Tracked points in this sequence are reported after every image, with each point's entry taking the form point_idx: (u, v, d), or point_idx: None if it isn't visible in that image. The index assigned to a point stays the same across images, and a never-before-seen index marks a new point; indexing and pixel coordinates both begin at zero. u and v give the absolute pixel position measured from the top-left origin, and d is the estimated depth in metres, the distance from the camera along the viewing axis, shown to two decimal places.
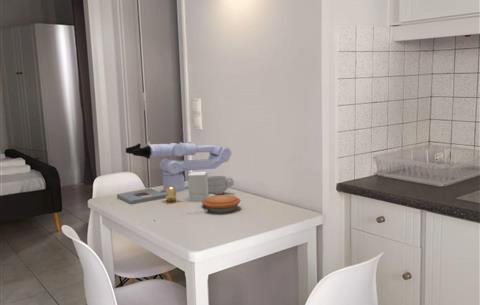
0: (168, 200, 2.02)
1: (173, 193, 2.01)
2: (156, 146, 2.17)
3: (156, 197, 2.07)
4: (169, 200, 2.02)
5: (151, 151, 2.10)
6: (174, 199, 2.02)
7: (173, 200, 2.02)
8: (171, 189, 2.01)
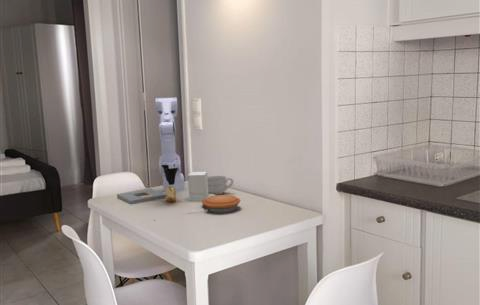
0: (168, 200, 2.02)
1: (173, 193, 2.01)
2: None
3: (156, 197, 2.07)
4: (169, 200, 2.02)
5: None
6: (174, 199, 2.02)
7: (173, 200, 2.02)
8: (171, 189, 2.01)
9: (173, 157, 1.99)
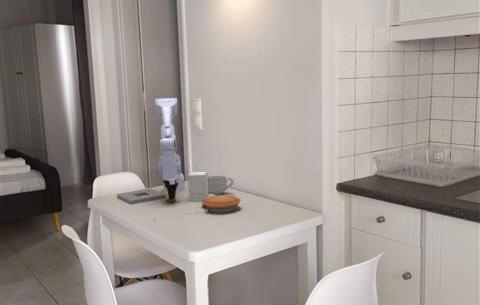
0: (168, 200, 2.02)
1: None
2: None
3: (156, 197, 2.07)
4: (169, 200, 2.02)
5: None
6: (174, 199, 2.02)
7: (173, 200, 2.02)
8: None
9: (174, 173, 2.00)
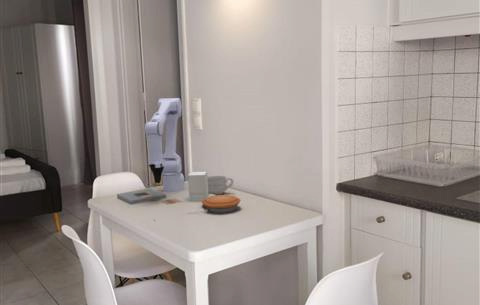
0: (154, 184, 2.05)
1: None
2: None
3: (156, 197, 2.07)
4: (155, 184, 2.04)
5: None
6: (160, 183, 2.05)
7: (158, 184, 2.04)
8: None
9: (160, 156, 2.03)
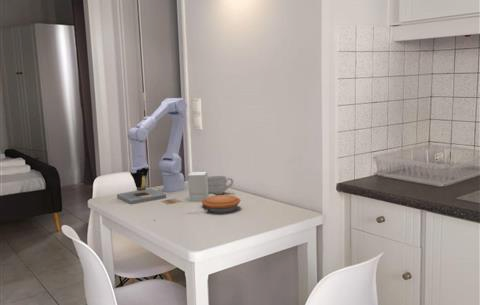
0: None
1: None
2: None
3: (156, 197, 2.07)
4: (137, 188, 2.10)
5: None
6: (141, 188, 2.09)
7: (140, 188, 2.09)
8: None
9: (140, 162, 2.07)
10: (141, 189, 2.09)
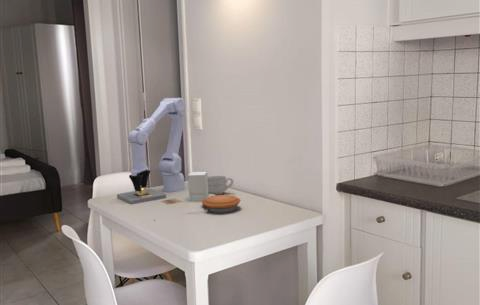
0: None
1: (141, 193, 2.10)
2: None
3: (156, 197, 2.07)
4: None
5: None
6: None
7: None
8: None
9: (140, 165, 2.07)
10: None
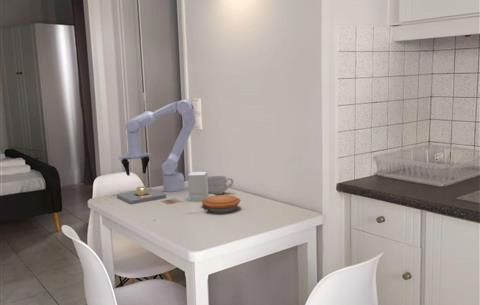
0: None
1: (141, 193, 2.10)
2: (140, 148, 2.22)
3: (156, 197, 2.07)
4: None
5: None
6: None
7: None
8: (139, 189, 2.09)
9: (130, 151, 2.20)
10: None
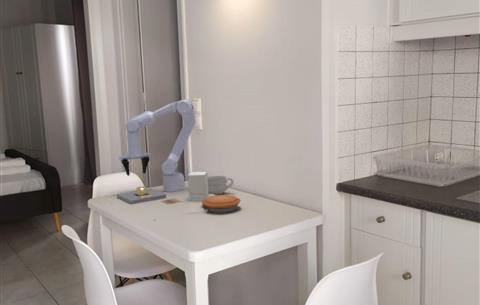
0: None
1: (141, 193, 2.10)
2: (140, 148, 2.22)
3: (156, 197, 2.07)
4: None
5: None
6: None
7: None
8: (139, 189, 2.09)
9: (130, 151, 2.20)
10: None
